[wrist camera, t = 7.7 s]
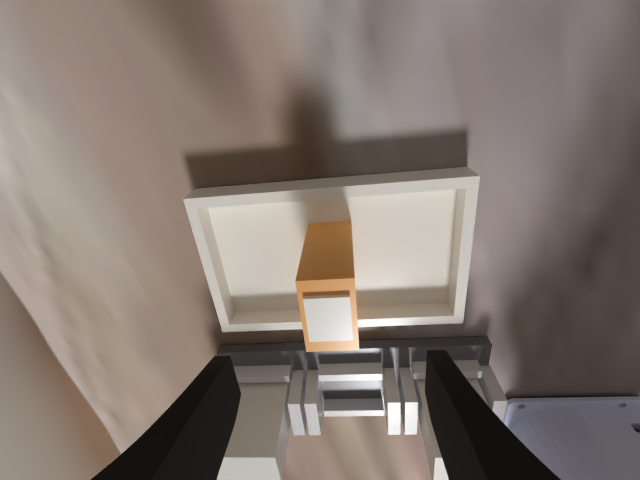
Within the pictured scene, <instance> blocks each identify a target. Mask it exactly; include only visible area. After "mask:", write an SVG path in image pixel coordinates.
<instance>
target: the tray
mask: <svg viewBox="0 0 640 480" xmlns="http://www.w3.org/2000/svg"><path fill="white" fill-rule="evenodd" d="M479 180H480V176H479V175H478V174H477V173H475V172H474V171H473V170H471V169H470V168H469V167H456V168H444V169H432V170H419V171H407V172H395V173H382V174H370V175H358V176H345V177H333V178H320V179H308V180H296V181H283V182H271V183H259V184H246V185H234V186H222V187H209V188H197V189H195V190H194V191H193V192H191V193H190V194H189V195H188V196H186V197H185V198H184V199H183V200H184V204H185V207H186V210H187V214H188V217H189V220H190V224H191V227H192V231H193V234H194V237H195V241H196V244H197V248H198V251H199V254H200V258H201V261H202V264H203V268H204V271H205V275H206V278H207V281H208V285H209V288H210V291H211V295H212V298H213V302H214V305H215V308H216V312H217V315H218V319H219V322H220V325H221V329H222V332H240V331H267V330H294V329H303V327H302V321H301V314H300V308H299V302H298V295H297V289H296V283H295V280H296V276H297V271H298V267H299V262H300V258H301V253H302V249H303V245H304V240H305V236H306V231H307V227H308V224H310V223H325V222H340V221H351V224H352V240H353V255H354V271H355V287H356V303H357V320H358V327H376V326H403V325H430V324H457V323H463V320H464V311H465V303H466V294H467V285H468V276H469V268H470V259H471V250H472V241H473V232H474V224H475V215H476V206H477V197H478V189H479Z"/></svg>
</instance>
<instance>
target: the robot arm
mask: <svg viewBox="0 0 640 480" xmlns="http://www.w3.org/2000/svg"><path fill="white" fill-rule="evenodd" d="M425 395H426V400H427V405H428V410H429V415H430V420H431V423H432V427H433V430H434V433H435V437H436V440H437V443H438V446H439V450H440V453H441V456H442V459H443V462H444V466H445V469H446V472H447V475H448V479H449V480H640V397H636V396H631V397H567V398H512V399H509V400H508V402H507V407H506V411H505V416H504V420H503V422H502V421H501V420H500V418H499V417H498V416H497V415H496V414H495V413H494V412H493V411H492V409H491V408H490V407H489V406H488V405H487V403H486V402H485V401H484V400H483V399H482V397H481V396H480V395H479V394H478V393H477V391H476V390H475V389H474V388H473V386H472V385H471V384H470V383H469V381H468V380H467V379H466V377H465V376H464V375H463V373H462V372H461V371H460V369H459V368H458V367H457V365H456V364H455V362H454V361H453V359H452V358H451V357H450V355H449V354H448V352H447V351H446V350H427V357H426V376H425ZM240 398H241V391H240V387H239V384H238V381H237V377H236V374H235V370H234V367H233V363H232V360H231V357H230V356H214V357H213V359H212V360H211V361H210V362H209V363H208V364H207V365H206V366H205V368H204V369H203V370H202V371H201V372H200V373H199V375H198V376H197V377H196V378H195V379H194V380H193V382H192V383H191V384H190V385H189V386H188V387H187V388H186V390H185V391H184V392H183V393H182V394H181V395H180V396H179V397H178V398H177V400H176V401H175V402H174V403H173V404H172V405H171V406H170V407H169V408H168V409H167V410H166V411H165V412H164V414H163V415H162V416H161V417H160V418H159V419H158V420H157V421H156V422H155V423H154V424H153V425H152V426H151V427H150V428H149V429H148V430H147V431H146V432H145V433H144V434H143V435H142V436H141V437H140V438H139V439H138V440H137V441H135V442H134V443H133V444H132V445H131V446H130V447H129V448H128V449H127V450H126V451H124V452H123V453H122V454H121V455H120V456H119V457H118V458H117V459H115V460H114V461H113V462H112V463H111V464H109V465H108V466H107V467H106V468H104V469H103V470H102V471H101V472H100V473H98V474H97V475H96V476H95V477H94V478H92V479H91V480H216V479H217V476H218V473H219V470H220V467H221V464H222V461H223V458H224V455H225V452H226V449H227V446H228V443H229V440H230V437H231V434H232V431H233V428H234V425H235V422H236V417H237V413H238V408H239V403H240Z"/></svg>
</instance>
